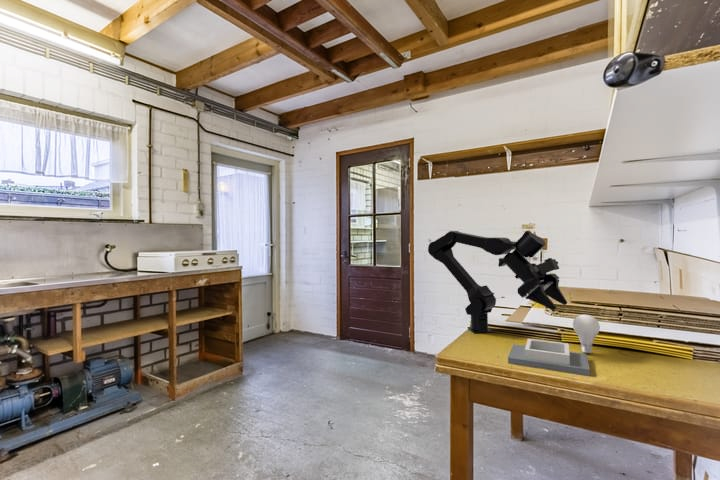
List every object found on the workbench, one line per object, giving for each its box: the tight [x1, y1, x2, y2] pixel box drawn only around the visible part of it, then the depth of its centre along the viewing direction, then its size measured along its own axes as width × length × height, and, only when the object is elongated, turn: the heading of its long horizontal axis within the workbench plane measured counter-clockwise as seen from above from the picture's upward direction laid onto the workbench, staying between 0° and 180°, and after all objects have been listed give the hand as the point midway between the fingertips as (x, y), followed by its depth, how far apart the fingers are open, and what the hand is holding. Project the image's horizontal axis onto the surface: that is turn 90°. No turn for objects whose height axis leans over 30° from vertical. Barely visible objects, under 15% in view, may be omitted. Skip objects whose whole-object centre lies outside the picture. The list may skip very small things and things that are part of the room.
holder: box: [507, 338, 591, 377], centre depth 90 cm, size 18×12×4 cm, turn 59°
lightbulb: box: [572, 314, 601, 355], centre depth 95 cm, size 6×6×11 cm
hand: (560, 306), depth 99 cm, fingers open, 9 cm apart
